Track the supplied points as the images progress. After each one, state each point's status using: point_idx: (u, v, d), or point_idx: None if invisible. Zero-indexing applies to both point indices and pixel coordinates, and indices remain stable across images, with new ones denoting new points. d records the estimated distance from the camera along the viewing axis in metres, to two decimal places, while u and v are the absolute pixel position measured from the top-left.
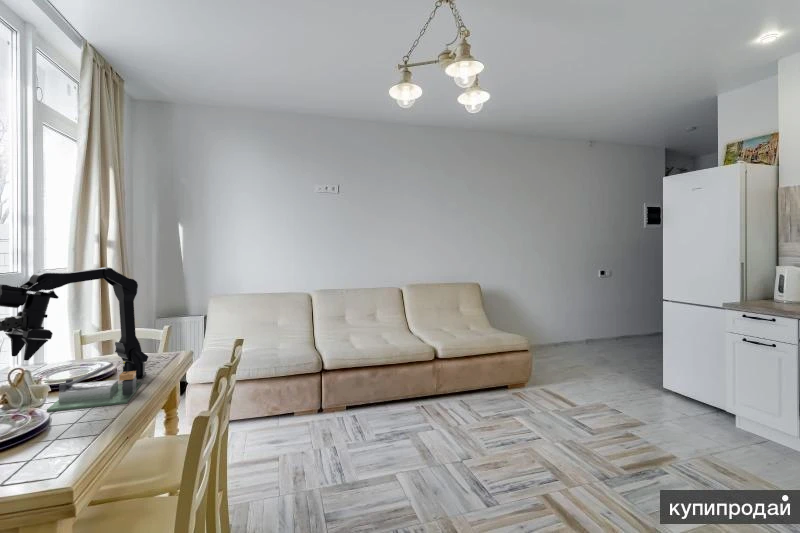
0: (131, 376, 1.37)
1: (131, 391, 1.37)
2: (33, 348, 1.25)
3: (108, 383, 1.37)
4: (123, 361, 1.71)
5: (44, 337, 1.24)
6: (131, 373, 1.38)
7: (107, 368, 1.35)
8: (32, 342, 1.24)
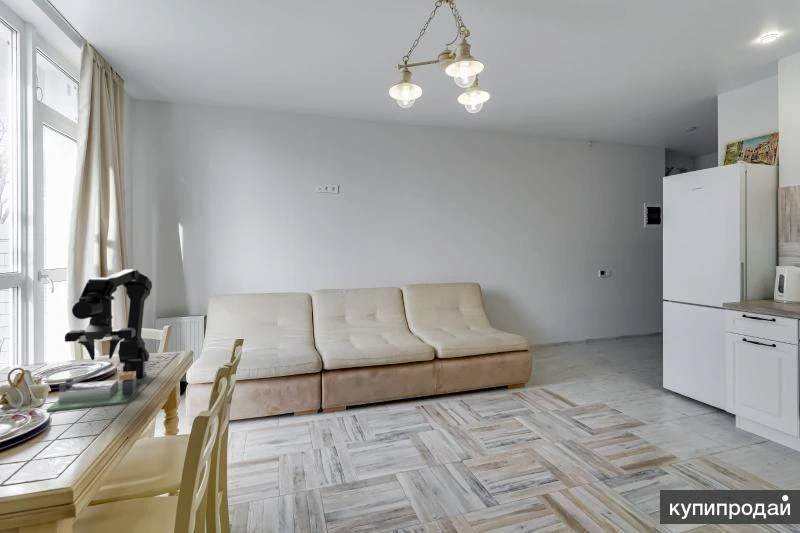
0: (131, 376, 1.37)
1: (131, 391, 1.37)
2: (114, 347, 1.37)
3: (108, 383, 1.37)
4: None
5: (134, 334, 1.39)
6: (131, 373, 1.38)
7: (107, 368, 1.35)
8: None
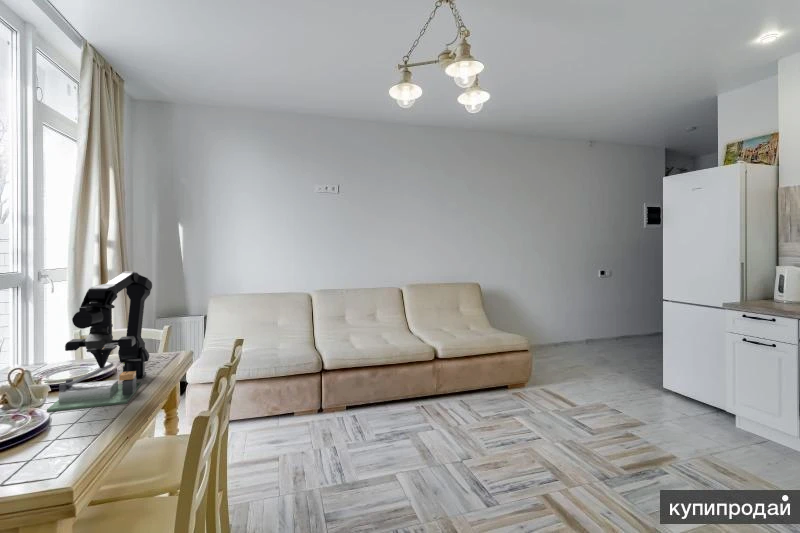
0: (131, 376, 1.37)
1: (131, 391, 1.37)
2: (107, 356, 1.36)
3: (108, 383, 1.37)
4: None
5: (134, 342, 1.40)
6: (131, 373, 1.38)
7: (107, 368, 1.35)
8: None
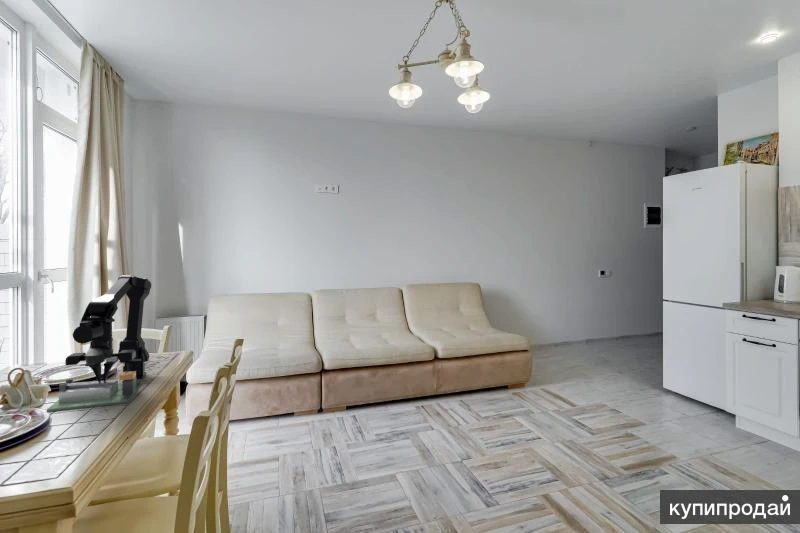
0: (131, 376, 1.37)
1: (131, 391, 1.37)
2: (109, 369, 1.37)
3: None
4: None
5: (134, 356, 1.40)
6: (131, 373, 1.38)
7: (111, 384, 1.35)
8: None
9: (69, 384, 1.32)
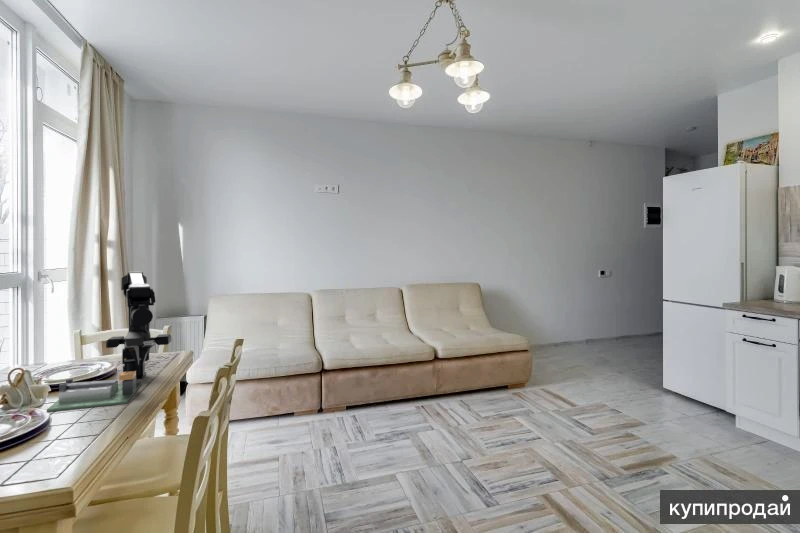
0: (131, 376, 1.37)
1: (131, 391, 1.37)
2: (146, 353, 1.40)
3: None
4: None
5: (170, 340, 1.43)
6: (131, 373, 1.38)
7: (111, 384, 1.35)
8: None
9: (69, 384, 1.32)
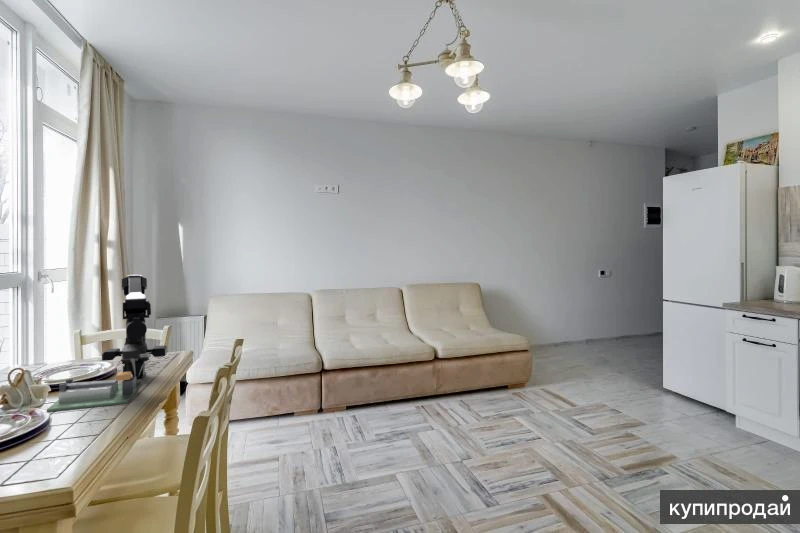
0: (128, 376, 1.37)
1: (131, 391, 1.37)
2: (142, 365, 1.40)
3: None
4: None
5: (166, 352, 1.44)
6: (128, 373, 1.38)
7: (111, 384, 1.35)
8: None
9: (69, 384, 1.32)
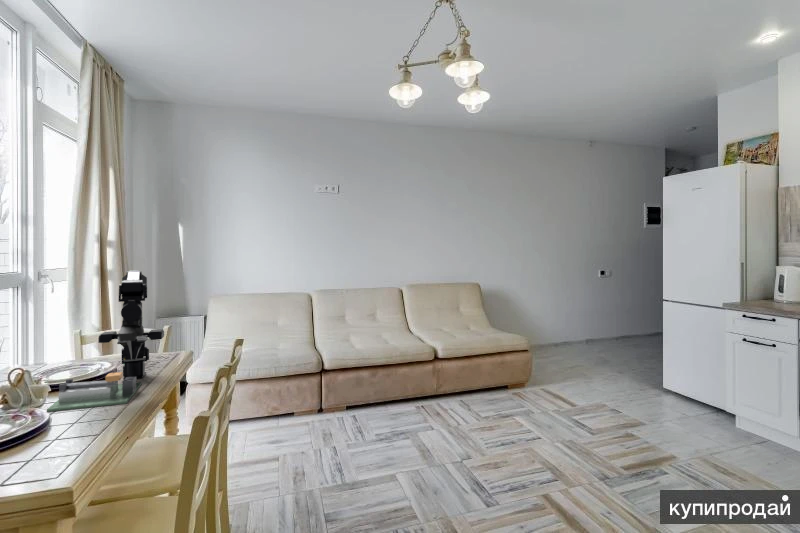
0: (117, 377, 1.36)
1: (131, 391, 1.37)
2: (139, 348, 1.41)
3: None
4: None
5: (163, 335, 1.44)
6: (118, 374, 1.37)
7: (111, 384, 1.35)
8: None
9: (69, 384, 1.32)
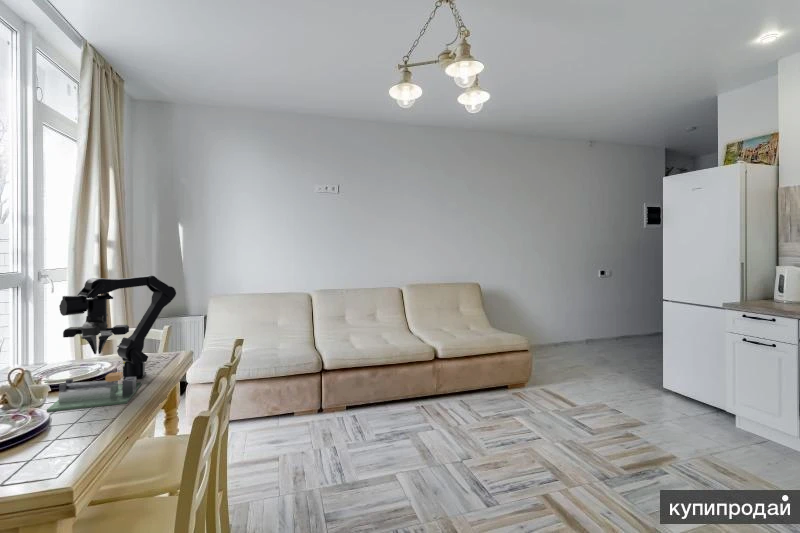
0: (117, 377, 1.36)
1: (131, 391, 1.37)
2: (103, 342, 1.47)
3: None
4: (123, 361, 1.71)
5: (127, 331, 1.50)
6: (118, 374, 1.37)
7: (111, 384, 1.35)
8: None
9: (69, 384, 1.32)
